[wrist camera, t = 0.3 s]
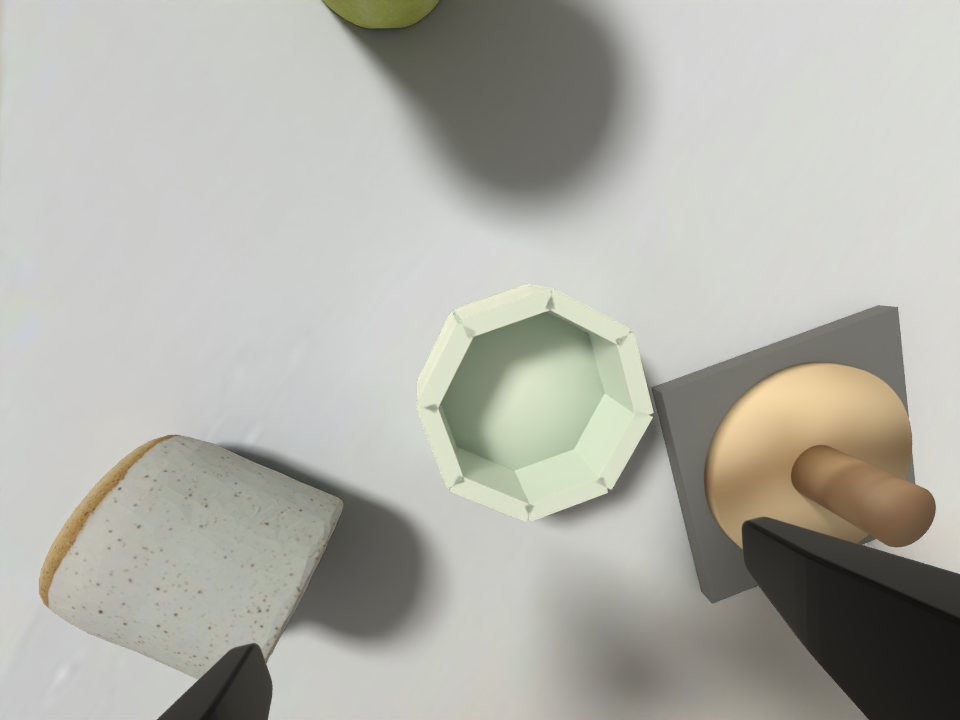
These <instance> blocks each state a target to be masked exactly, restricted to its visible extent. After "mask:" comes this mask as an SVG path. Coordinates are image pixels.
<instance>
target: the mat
mask: <svg viewBox="0 0 960 720" xmlns="http://www.w3.org/2000/svg"><path fill="white" fill-rule="evenodd" d="M807 362H830V363H837V364H841V365H845V366H850V367H854V368H857V369H861V370H864V371H867V372H869V373H871V374H873V375H875V376H877V377H878V378H880V379H881V380H883V381H884V382H885V383H887V384H888V385H889V386H890V387H891V388H892V389H893V390H894V392H895V393H896V394H897V396H898V397H899V398H900V400H901V402H902V404H903V406H904V408H905V410H906V412H907V415H908V405H907V395H906V385H905V375H904V365H903V355H902V344H901V334H900V324H899V314H898V307H890V306H879V305H878V306H876V307H873V308H870V309H867V310H864V311H862V312H859V313H856V314H853V315H851V316H848V317H845V318H842V319H840V320H837V321H834V322H831V323H829V324H826V325H823V326H820V327H818V328H815V329H812V330H809V331H807V332H804V333H801V334H798V335H796V336H793V337H790V338H787V339H785V340H782V341H779V342H776V343H774V344H771V345H768V346H765V347H763V348H760V349H757V350H754V351H752V352H749V353H746V354H743V355H741V356H738V357H735V358H732V359H730V360H727V361H724V362H721V363H719V364H716V365H713V366H710V367H708V368H705V369H702V370H699V371H696V372H694V373H691V374H688V375H685V376H683V377H680V378H677V379H674V380H672V381H669V382H666V383H663V384H661V385H658V386H655V387H652V391H653V395H654V399H655V403H656V407H657V411H658V416H659V420H660V424H661V428H662V432H663V436H664V440H665V444H666V448H667V452H668V457H669V461H670V465H671V469H672V473H673V477H674V481H675V485H676V489H677V493H678V498H679V502H680V506H681V510H682V514H683V518H684V522H685V526H686V530H687V534H688V539H689V543H690V547H691V551H692V555H693V559H694V563H695V567H696V571H697V575H698V580H699V584H700V588H701V591H702V592H703V594H704V595H705V596H706V597H707V598H708V599H709V601H710V602H711V603H715V602H718V601H720V600H723V599H725V598H728V597H730V596H733V595H735V594H738V593H740V592H743V591H745V590H748V589H750V588H753V587H756V586H758V584H757V583H756V581H755V580H754V579H753V577H752V576H751V575H750V573H749V572H748V570H747V568H746V566H745V564H744V560H743V549H742V548H740V547H739V546H738V545H737V544H736V543H735V542H733V541H732V540H731V539H730V538H729V537H728V536H727V535H726V534H725V533H724V532H723V531H722V530H721V529H720V527H719V526H718V524H717V523H716V522H715V520H714V518H713V516H712V514H711V512H710V510H709V507H708V503H707V500H706V495H705V488H704V470H705V462H706V457H707V453H708V449H709V446H710V444H711V441H712V438H713V436H714V434H715V432H716V430H717V428H718V426H719V424H720V422H721V421H722V419H723V418H724V416H725V415H726V413H727V412H728V410H729V409H730V408H731V407H732V405H733V404H734V403H735V402H736V401H737V400H738V399H739V398H740V397H741V396H742V395H743V394H744V393H745V392H746V391H747V390H748V389H749V388H751V387H752V386H753V385H755V384H756V383H757V382H759V381H760V380H762V379H763V378H765V377H767V376H768V375H770V374H772V373H774V372H776V371H779V370H781V369H783V368H786V367H789V366H793V365H796V364H801V363H807ZM908 418H909V415H908ZM906 480H907V481H909V482H911V483H913V484H915V476H914V466H913V456H912V454H911V461H910V466H909V471H908V474H907V477H906ZM875 539H876V538H874V537H873V536H871V535H867V536H866V537H865V538H864V539H863V540H861V541H860V542H859V543H857V544H860V545H862V544H864V543H867V542H870V541H872V540H875Z"/></svg>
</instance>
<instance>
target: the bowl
mask: <svg viewBox="0 0 960 720" xmlns="http://www.w3.org/2000/svg"><path fill="white" fill-rule="evenodd" d="M454 311H455V314H454V313H452V312H450V314H449V316H448V318H447V320H446V322H445V324H444V326H443V329H442V331H441V333H440V335H439V337H438V339H437V341H436V343H435V345H434V347H433V349H432V351H431V353H430V355H429V357H428V359H427V361H426V363H425V365H424V368H423V370H422V372H421V374H420V376H419V378H418V380H417V412H418V415H419V417H420V420H421V423H422V425H423V428H424V431H425V433H426V436H427V438H428V441H429V444H430V446H431V449H432V451H433V454H434V457H435V459H436V462H437V464H438V467H439V470H440V472H441V475H442V477H443V480H444V483H445V485H446V488H449V489H450V492H452V493H454V494H457V495H459V496H462V497H464V498H467V499H469V500H472V501H474V502H477V503H479V504H482V505H484V506H487V507H489V508H492V509H494V510H497V511H500V512H502V513H505V514H507V515H510V516H512V517H515V518H517V519H520V520H522V521H525V522H526V521H527V519H528V518H529V520H530V522H531V521H534V520H537V519H539V518H542V517H545V516H547V515H550V514H553V513H555V512H558V511H561V510H563V509H566V508H569V507H571V506H574V505H577V504H579V503H582V502H585V501H587V500H590V499H593V498H595V497H598V496H601V495H603V494H606V493H608V490H607V488H609V489H611V490H612V488H613V487H614V485H615V483H616V481H617V480H618V478H619V476H620V474H621V473H622V471H623V469H624V467H625V466H626V464H627V462H628V460H629V459H630V457H631V455H632V453H633V452H634V450H635V448H636V446H637V444H638V443H639V441H640V439H641V437H642V436H643V434H644V432H645V430H646V429H647V427H648V425H649V423H650V422H651V420H652V418H653V417H652V416H650V415H649V414H652V413H654V412H653V408H652V404H651V400H650V396H649V392H648V388H647V383H646V379H645V375H644V371H643V367H642V363H641V359H640V355H639V351H638V347H637V343H636V339H635V335H634V333H633V332H630V331H631V329H630V328H628V327H626V326H624V325H623V324H621V323H619V322H617V321H615V320H613V319H611V318H609V317H607V316H605V315H604V314H602V313H600V312H598V311H596V310H594V309H592V308H590V307H588V306H587V305H585V304H583V303H581V302H579V301H577V300H575V299H573V298H571V297H569V296H568V295H566V294H564V293H562V292H560V291H558V290H556V289H553V288H548V287H542V286H536V285H528V284H525V285H522V286H519V287H517V288H514V289H511V290H508V291H505V292H502V293H499V294H496V295H493V296H490V297H487V298H485V299H482V300H479V301H476V302H473V303H470V304H467V305H464V306H461V307H458V308H455V309H454Z"/></svg>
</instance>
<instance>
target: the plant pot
mask: <svg viewBox="0 0 960 720" xmlns="http://www.w3.org/2000/svg"><path fill="white" fill-rule="evenodd" d="M322 1H323V2H324V3H325V4H326V5H327V6H328V7H329V8H331V9H332V10H333V11H334V12H335V13H337V14H338V15H340V16H341V17H343V18H344V19H346V20H347V21H349V22H351V23H353V24H355V25H358V26H361V27H364V28H404V27H407V26H409V25H412V24H414V23H416V22H418V21H419V20H421V19H422V18H424V17H425V16H426V15H428V14H429V13H430V12H431V11H432V10H433V8H434V7H435V6H436V5H437V4H438V2H439V1H440V0H322Z"/></svg>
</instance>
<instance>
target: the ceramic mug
mask: <svg viewBox="0 0 960 720" xmlns="http://www.w3.org/2000/svg"><path fill="white" fill-rule="evenodd" d="M342 509H343V501H342V500H341V499H340V498H338V497H336V496H333V495H331V494H328V493H326V492H324V491H321V490H319V489H316V488H314V487H312V486H309V485H307V484H304V483H302V482H299V481H297V480H295V479H292V478H290V477H288V476H286V475H284V474H282V473H279V472H277V471H275V470H272V469H270V468H267V467H265V466H262V465H260V464H258V463H255V462H253V461H250V460H248V459H246V458H244V457H241V456H239V455H237V454H235V453H233V452H231V451H229V450H227V449H224V448H222V447H220V446H217V445H215V444H212V443H209V442H205V441H201V440H197V439H194V438H190V437H185V436H180V435H168V436H164V437H160V438H157V439H154V440H152V441H149V442H147V443H145V444H144V445H142V446H140V447H138V448H137V449H135V450H134V451H133V452H131V453H130V454H129V455H127V456H126V457H125V458H123V459H122V460H121V461H120V462H119V463H118V464H117V465H116V466H115V467H113V468H112V469H111V470H110V471H109V472H108V473H107V474H106V475H105V476H104V477H103V478H102V479H101V480H100V481H99V482H98V483H97V484H96V485H95V486H94V488H93V489H92V490H91V491H90V492H89V493H88V495H87V496H86V497H85V498H84V500H83V501H82V502H81V503H80V504H79V506H78V507H77V508H76V509H75V511H74V512H73V513H72V515H71V516H70V518H69V519H68V520H67V522H66V523H65V525H64V526H63V528H62V529H61V531H60V533H59V534H58V536H57V537H56V539H55V541H54V542H53V544H52V546H51V548H50V550H49V552H48V554H47V557H46V559H45V562H44V564H43V567H42V569H41V573H40V578H39V594H40V596H41V598H42V601H43V603H44V604H45V605H46V606H47V607H48V608H49V609H50V610H52V611H53V612H54V613H55V614H57V615H58V616H60V617H61V618H63V619H64V620H66V621H67V622H69V623H70V624H72V625H74V626H76V627H78V628H79V629H81V630H83V631H85V632H87V633H89V634H91V635H94V636H96V637H99V638H101V639H104V640H106V641H109V642H111V643H114V644H117V645H120V646H122V647H125V648H128V649H131V650H133V651H136V652H138V653H140V654H143V655H145V656H147V657H149V658H152V659H154V660H156V661H159V662H161V663H163V664H165V665H168V666H170V667H172V668H174V669H176V670H179V671H181V672H183V673H185V674H188V675H190V676H192V677H194V678H196V679H200V678H201V677H202V676H203V675H204V674H205V673H206V672H207V671H208V670H209V669H210V668H211V667H212V666H213V665H214V664H215V663H216V662H217V661H219V660H220V659H221V658H222V657H223V656H224V655H225V654H226V653H227V652H228V651H229V650H230V649H232V648H234V647H238V646H242V645H246V644H250V643H256V644H258V645H259V646H260V648H261V650H262V653H263V656H264V659H265V662H266V663H267V661H268V659H269V656H270V655H271V654H272V652H273V650H274V648H275V646H276V644H277V642H278V641H279V639H280V637H281V635H282V633H283V632H284V630H285V628H286V626H287V625H288V623H289V621H290V619H291V617H292V616H293V614H294V612H295V610H296V608H297V607H298V605H299V603H300V601H301V599H302V597H303V595H304V593H305V591H306V589H307V587H308V584H309V582H310V580H311V577H312V575H313V573H314V571H315V569H316V567H317V565H318V564H319V562H320V560H321V558H322V555H323V553H324V551H325V549H326V547H327V544H328V542H329V539H330V537H331V535H332V533H333V531H334V529H335V527H336V524H337V521H338V519H339V517H340V514H341V512H342Z"/></svg>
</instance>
